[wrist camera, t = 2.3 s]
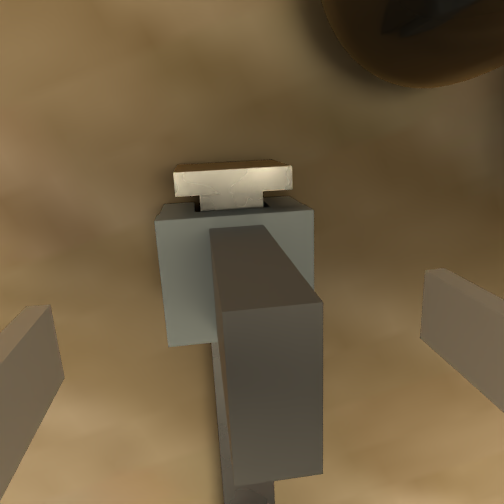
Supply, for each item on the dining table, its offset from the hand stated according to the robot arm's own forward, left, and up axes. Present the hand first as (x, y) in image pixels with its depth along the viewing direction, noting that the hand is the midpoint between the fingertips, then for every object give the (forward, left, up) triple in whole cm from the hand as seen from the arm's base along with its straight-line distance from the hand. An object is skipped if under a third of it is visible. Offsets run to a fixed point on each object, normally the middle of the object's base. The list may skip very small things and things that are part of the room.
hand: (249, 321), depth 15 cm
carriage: (0, 0, -9) cm, 9 cm away
